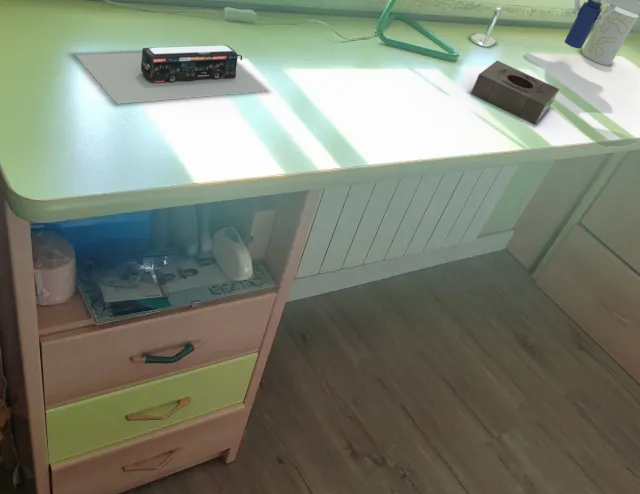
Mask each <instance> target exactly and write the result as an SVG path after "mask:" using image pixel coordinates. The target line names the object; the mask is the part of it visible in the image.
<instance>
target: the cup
mask: <svg viewBox="0 0 640 494" xmlns="http://www.w3.org/2000/svg"><path fill="white" fill-rule="evenodd" d="M609 5H610V4H609V3H607V5H606V6H605V9H604V10H603V12H602V13H601V14H602V15H604V14H605V13H606V12H608V11H609V10H608V7H609ZM638 19H639V15H638V13H637V14H633V13H631V12H628V11H626V10H623V9H621V8H618V7H616V8H615V10H614V11H613V12H612V13H610V14H609V15H608V16H606V17H605V18H604V20H603V22H602V24H601V25H600V24H597V23H596V25H595V27H594V28H593V31H591V33H590V35H589V37H588V40H587V41H586V44H584V45H585V46H583V48H582V51H581V54H582V55H583V56H584V57H585V58H587V59H589V60H591V61H592V62H595V63H597V64H600V65H605V66H610V65H612V63H613V62H614V60H615V58H616V56H617V55H618V52H620V49H621V47H622V46H623V44H624V43H625V40H626V39H627V38H628V36H629V34H630V33H631V31H632V30H633V27H634V25H635V24H636V23H637V20H638Z"/></svg>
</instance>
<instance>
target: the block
mask: <svg viewBox="0 0 640 494" xmlns="http://www.w3.org/2000/svg"><path fill="white" fill-rule="evenodd" d="M559 91H560V88H558V87H556V86H555V85H552V84H549V83H548V82H545V81H543V80H541V79H539V78H537V77H534V76H532V75H530V74H527V73H526V72H523V71H521V70H519V69H517V68H514V67H513V66H510V65H508V64H506V63H504V62H502V61H500V60H496V61H494V62H493V63H492V64H491V65H489V66H487V68H485V69H484V70H482V71H481V72H479V74H478V76H477V78H476V81H475V82H474V85H473V88H472V90H471V92H470V93H471V94H472V95H474V96H475V97H478V98H480V99H482V100H484V101H486V102H488V103H490V104H492V105H494V106H496V107H498V108H500V109H502V110H504V111H507V112H509V113H511V114H513V115H515V116H517V117H519V118H521V119H523V120H525V121H528V122H530V123H531V124H534V125H537V123H538V122H539V120H541V118H543V116H544V115H545V113H546V112H547V111H548V110H549V109H550V107H551V106H552V104H553V102H554V101H555V98H556V96H557V95H558V93H559Z"/></svg>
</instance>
